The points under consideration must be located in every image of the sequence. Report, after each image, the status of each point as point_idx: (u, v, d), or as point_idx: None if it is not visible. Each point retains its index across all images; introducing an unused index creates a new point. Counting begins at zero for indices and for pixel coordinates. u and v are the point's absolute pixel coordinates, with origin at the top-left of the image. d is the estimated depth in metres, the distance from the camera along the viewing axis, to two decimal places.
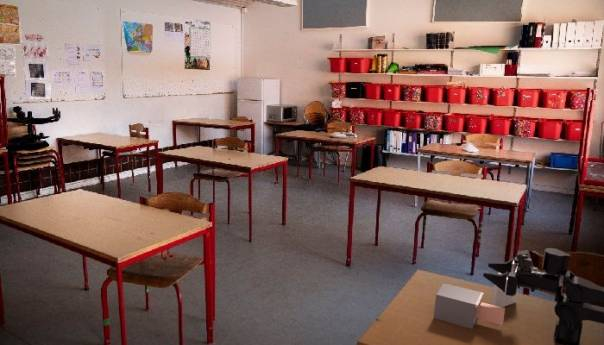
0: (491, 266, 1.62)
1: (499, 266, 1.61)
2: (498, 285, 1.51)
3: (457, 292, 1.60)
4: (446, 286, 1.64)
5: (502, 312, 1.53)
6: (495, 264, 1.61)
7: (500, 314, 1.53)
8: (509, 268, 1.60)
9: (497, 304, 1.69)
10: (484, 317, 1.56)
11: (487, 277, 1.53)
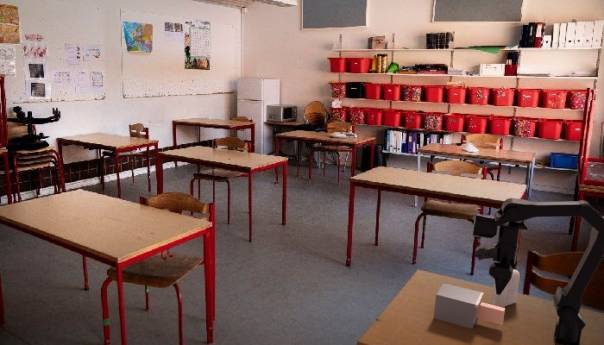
0: None
1: None
2: (505, 282, 1.46)
3: (457, 292, 1.60)
4: (446, 286, 1.64)
5: (502, 312, 1.53)
6: None
7: (500, 314, 1.53)
8: (505, 263, 1.56)
9: (497, 304, 1.69)
10: (484, 317, 1.56)
11: (500, 291, 1.48)
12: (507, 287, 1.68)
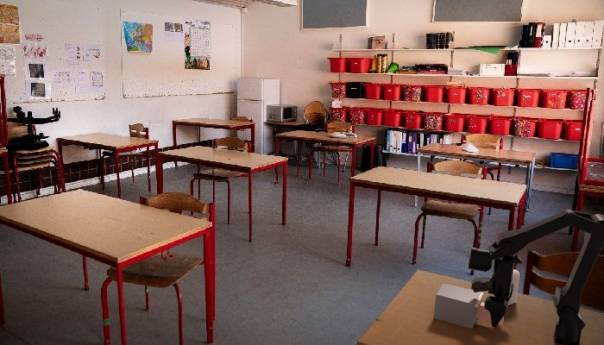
0: None
1: None
2: (501, 316, 1.48)
3: (457, 292, 1.60)
4: (446, 286, 1.64)
5: None
6: None
7: None
8: None
9: None
10: (484, 317, 1.56)
11: (495, 324, 1.51)
12: None
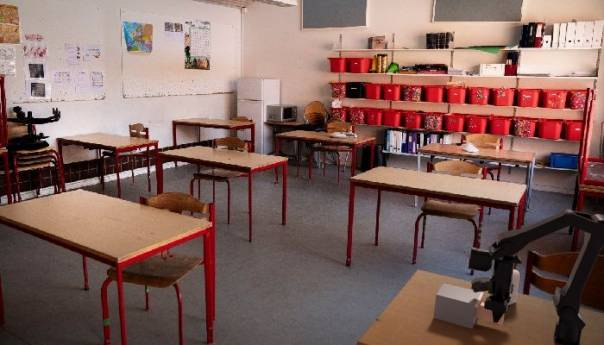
0: None
1: None
2: None
3: (457, 292, 1.60)
4: (446, 286, 1.64)
5: None
6: None
7: None
8: None
9: None
10: (484, 317, 1.56)
11: (497, 319, 1.53)
12: None
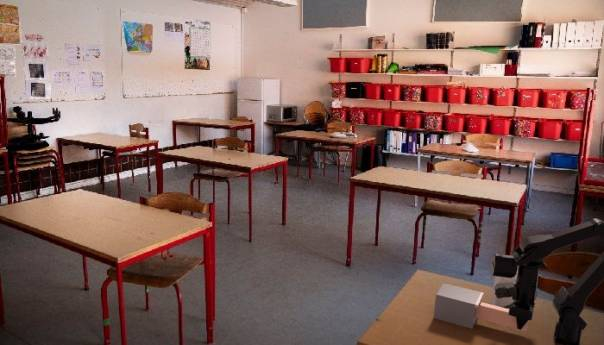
0: None
1: None
2: None
3: (457, 292, 1.60)
4: (446, 286, 1.64)
5: None
6: None
7: None
8: None
9: (497, 304, 1.69)
10: (507, 323, 1.53)
11: (521, 326, 1.50)
12: None
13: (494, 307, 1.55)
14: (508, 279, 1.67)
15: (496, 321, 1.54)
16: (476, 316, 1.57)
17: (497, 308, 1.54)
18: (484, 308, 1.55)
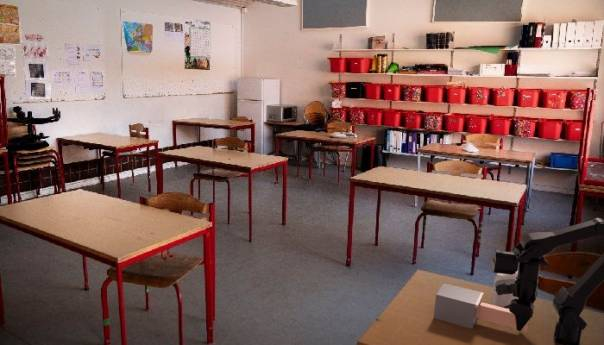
0: None
1: None
2: (526, 319, 1.45)
3: (457, 292, 1.60)
4: (446, 286, 1.64)
5: None
6: None
7: None
8: None
9: (497, 304, 1.69)
10: (508, 323, 1.53)
11: (520, 327, 1.47)
12: None
13: (494, 307, 1.55)
14: None
15: (496, 321, 1.54)
16: (476, 316, 1.57)
17: (497, 308, 1.54)
18: (485, 308, 1.55)
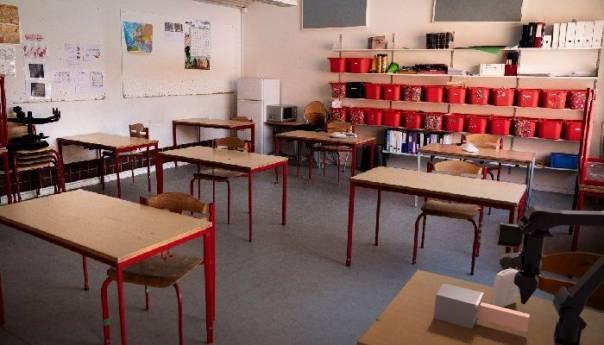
0: None
1: None
2: (531, 292, 1.43)
3: (457, 292, 1.60)
4: (446, 286, 1.64)
5: (527, 318, 1.50)
6: None
7: (525, 321, 1.50)
8: None
9: (497, 304, 1.69)
10: (508, 323, 1.53)
11: (525, 300, 1.45)
12: (507, 287, 1.68)
13: (494, 307, 1.55)
14: (508, 279, 1.67)
15: (496, 321, 1.54)
16: (476, 316, 1.57)
17: (497, 308, 1.54)
18: (485, 308, 1.55)
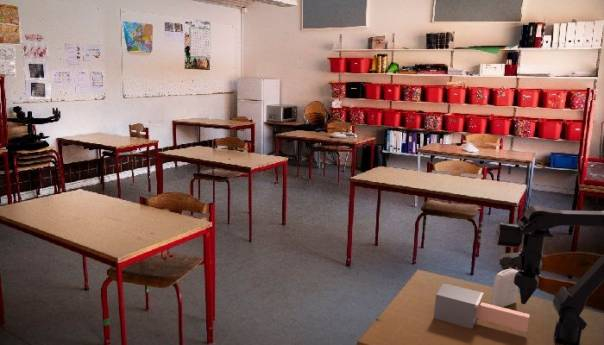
0: None
1: None
2: (531, 292, 1.43)
3: (457, 292, 1.60)
4: (446, 286, 1.64)
5: (527, 318, 1.50)
6: None
7: (525, 321, 1.50)
8: None
9: (497, 304, 1.69)
10: (508, 323, 1.53)
11: (525, 300, 1.45)
12: (507, 287, 1.68)
13: (494, 307, 1.55)
14: (508, 279, 1.67)
15: (496, 321, 1.54)
16: (476, 316, 1.57)
17: (497, 308, 1.54)
18: (485, 308, 1.55)
